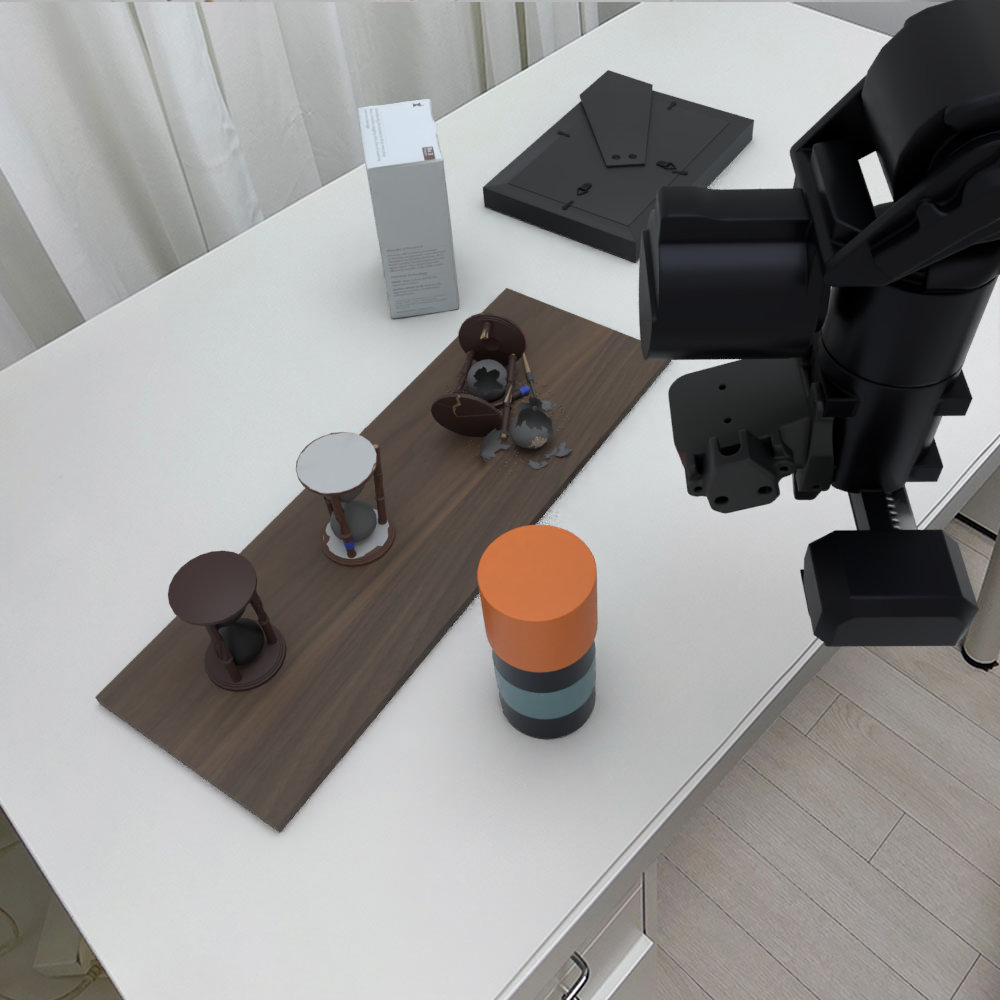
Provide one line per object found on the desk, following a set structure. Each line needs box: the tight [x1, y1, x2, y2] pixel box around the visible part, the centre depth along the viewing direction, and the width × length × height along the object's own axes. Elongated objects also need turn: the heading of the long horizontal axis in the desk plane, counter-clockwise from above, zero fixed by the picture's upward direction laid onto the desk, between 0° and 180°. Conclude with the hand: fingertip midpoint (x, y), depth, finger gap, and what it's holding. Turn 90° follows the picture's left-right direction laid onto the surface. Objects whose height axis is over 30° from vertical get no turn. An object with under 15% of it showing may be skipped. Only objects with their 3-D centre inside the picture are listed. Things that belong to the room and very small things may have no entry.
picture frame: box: [482, 69, 755, 263], centre depth 100 cm, size 16×3×21 cm
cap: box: [477, 524, 599, 672], centre depth 59 cm, size 6×6×5 cm
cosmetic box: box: [357, 98, 460, 319], centre depth 87 cm, size 8×6×15 cm
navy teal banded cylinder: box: [491, 640, 597, 740], centre depth 64 cm, size 6×6×8 cm
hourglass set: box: [94, 287, 672, 833], centre depth 74 cm, size 15×45×8 cm, turn 145°
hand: (818, 566), depth 56 cm, fingers open, 9 cm apart
